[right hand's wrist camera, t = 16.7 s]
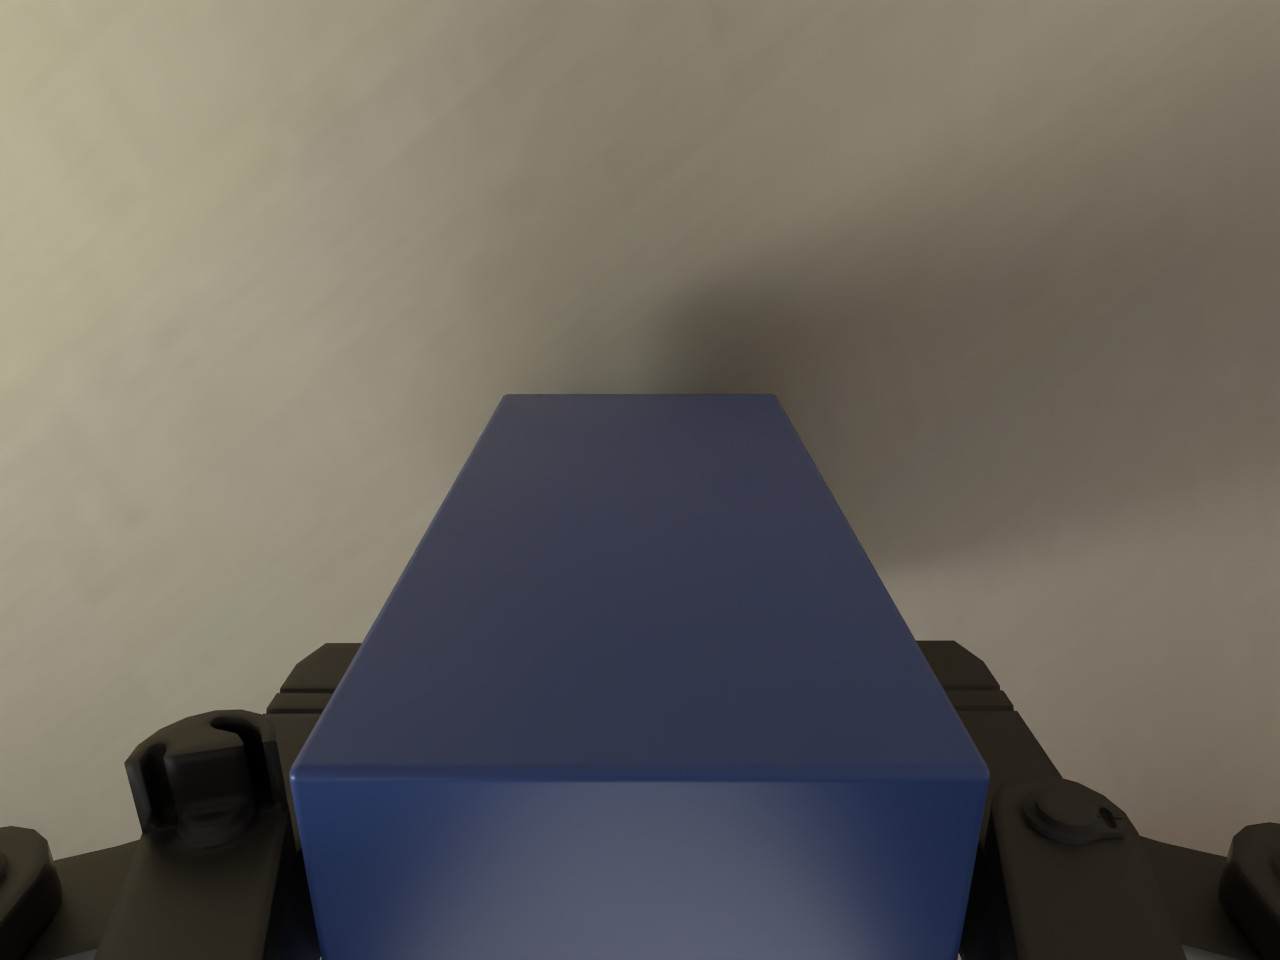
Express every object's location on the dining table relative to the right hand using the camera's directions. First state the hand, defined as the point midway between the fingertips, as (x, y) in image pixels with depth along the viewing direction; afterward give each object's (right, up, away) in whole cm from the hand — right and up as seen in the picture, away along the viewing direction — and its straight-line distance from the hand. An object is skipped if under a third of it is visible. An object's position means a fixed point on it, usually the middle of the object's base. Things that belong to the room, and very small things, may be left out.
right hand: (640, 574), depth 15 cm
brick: (0, +1, +2) cm, 2 cm away
